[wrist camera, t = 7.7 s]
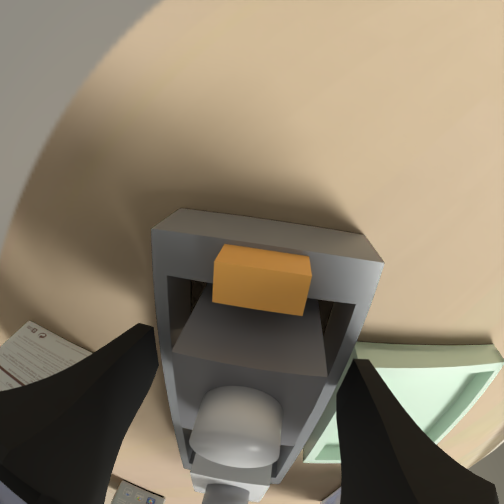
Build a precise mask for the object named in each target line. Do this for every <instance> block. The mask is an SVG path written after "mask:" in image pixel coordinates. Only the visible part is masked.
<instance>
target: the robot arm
mask: <svg viewBox="0 0 504 504" xmlns="http://www.w3.org/2000/svg"><path fill="white" fill-rule="evenodd" d="M158 366H159V363H158V357H157V350H156V343H155V335H154V327H152V326H148V325H144V324H141V323H138V324H137V325H135V326H133V327H132V328H130V329H129V330H127V331H126V332H125V333H123V334H122V335H120V336H119V337H117V338H116V339H114V340H113V341H111V342H110V343H108V344H107V345H105V346H104V347H102V348H101V349H99V350H98V351H96V352H94V353H93V354H91V355H89V356H88V357H86V358H84V359H83V360H81V361H79V362H77V363H76V364H74V365H72V366H70V367H68V368H66V369H64V370H62V371H60V372H58V373H56V374H54V375H52V376H49V377H47V378H44V379H41V380H39V381H36V382H33V383H30V384H27V385H24V386H21V387H17V388H13V389H9V390H4V391H0V504H104V502H105V496H106V492H107V488H108V484H109V480H110V477H111V473H112V470H113V467H114V464H115V461H116V458H117V455H118V452H119V449H120V447H121V444H122V441H123V439H124V436H125V434H126V432H127V430H128V428H129V426H130V424H131V422H132V421H133V419H134V417H135V415H136V413H137V411H138V409H139V408H140V406H141V404H142V402H143V400H144V398H145V397H146V395H147V393H148V391H149V389H150V387H151V384H152V382H153V379H154V377H155V374H156V371H157V369H158ZM336 421H337V430H338V439H339V448H340V458H341V471H342V480H341V487H340V488H339V489H337V490H336V491H335V492H334V493H332V494H331V495H330V496H328V497H327V498H326V499H324V500H323V501H322V502H320V504H499V501H498V496H497V492H496V488H495V485H494V484H492V483H491V482H489V481H487V480H485V479H483V478H481V477H479V476H477V475H475V474H473V473H472V472H471V471H469V470H468V469H466V468H465V467H463V466H462V465H460V464H459V463H458V462H456V461H455V460H454V459H452V458H451V457H450V456H449V455H448V454H446V453H445V452H444V451H443V450H442V449H441V448H439V447H438V446H437V445H436V444H435V443H434V442H433V441H432V440H431V439H430V438H429V437H428V436H427V435H426V434H425V433H424V432H423V431H422V430H421V428H420V427H419V426H418V425H417V424H416V423H415V421H414V420H413V419H412V418H411V417H410V415H409V414H408V413H407V412H406V410H405V409H404V408H403V407H402V405H401V404H400V403H399V401H398V400H397V399H396V397H395V396H394V394H393V393H392V392H391V390H390V389H389V387H388V386H387V385H386V383H385V382H384V380H383V379H382V377H381V376H380V375H379V373H378V372H377V370H376V369H375V367H374V366H373V365H372V363H371V362H370V360H369V359H354V358H353V360H352V363H351V365H350V367H349V369H348V371H347V373H346V375H345V377H344V379H343V382H342V384H341V386H340V388H339V390H338V392H337V393H336Z"/></svg>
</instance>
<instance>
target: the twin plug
mask: <svg viewBox="0 0 504 504" xmlns="http://www.w3.org/2000/svg"><path fill="white" fill-rule="evenodd" d="M271 471H272V464H270V465H267V466H263V467H257V468H238V467H231V466H226V465H222V464H218V463H215V462H213V461H210V460H208V459H206V458H204V457H202V456H200V455H199V454H197V453H196V454H195V458H194V461H193V464H192V468H191V471H190V474H191V479H192V483H193V487H194V491H196V492H200V493H205V494H204V498H203V502H202V504H248V501H252V502H260V500H261V499H262V497H263V496H264V494H265V493H266V491H267V490H268V488H269V487H270V480H271Z"/></svg>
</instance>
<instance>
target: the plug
mask: <svg viewBox="0 0 504 504" xmlns="http://www.w3.org/2000/svg"><path fill="white" fill-rule="evenodd" d="M212 296H213V283H207V285H206V287H205V289H204V291H203V292H202V294H201V296H200V298H199V300H198V302H197V304H196V306H195V307H194V309H193V311H192V313H191V315H190V317H189V319H188V321H187V323H186V324H185V326H184V328H183V330H182V332H181V334H180V336H179V338H178V340H177V342H176V344H175V346H174V347H173V349H172V351H171V353H172V362H173V372H174V380H175V388H176V396H177V403H178V410H179V416H180V423H181V427H183V428H187V429H191V430H192V433H191V436H190V439H189V444H190V446H191V448H192V449H193V450H194V451H195V452H196V453H197V454H199V455H200V456H202V457H204V458H206V459H208V460H210V461H213V462H215V463H218V464H222V465H226V466H231V467H238V468H257V467H263V466H267V465H270V464H272V463H274V462H275V461H277V460H278V458H279V454H280V445H286V446H294V444H295V442H296V441H297V439H298V437H299V435H300V433H301V431H302V429H303V427H304V425H305V423H306V422H307V420H308V418H309V416H310V414H311V412H312V410H313V407H314V405H315V403H316V401H317V399H318V397H319V395H320V393H321V391H322V388H323V386H324V384H325V382H326V380H327V377H328V376H327V367H326V358H325V349H324V341H323V333H322V326H321V319H320V311H319V305H318V299H311V298H307V300H306V304H305V308H304V312H303V316H299V315H291V314H284V313H277V312H270V311H263V310H257V309H251V308H244V307H238V306H232V305H226V304H221V303H215V302H212Z"/></svg>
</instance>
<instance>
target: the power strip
mask: <svg viewBox="0 0 504 504" xmlns="http://www.w3.org/2000/svg"><path fill="white" fill-rule="evenodd" d="M151 240H152V265H153V282H154V295H155V307H156V317H157V327H158V335H159V344H160V351H161V358H162V365H163V372H164V378H165V384H166V390H167V396H168V401H169V406H170V411H171V416H172V421H173V426H174V430H175V435H176V439H177V443H178V448H179V452H180V456H181V459H182V463H183V467H184V468H185V469H189V470H191V468H192V464H193V461H194V458H195V454H196V452H195V451H194V450H193V449H192V448H191V446H190V444H189V439H190V436H191V433H192V430H191V429H187V428H183V427H181V423H180V416H179V410H178V403H177V396H176V388H175V380H174V372H173V362H172V353H171V351H172V349H173V347H174V346H175V344H176V342H177V340H178V338H179V336H180V334H181V332H182V330H183V328H184V326H185V324H186V323H187V321H188V319H189V317H190V315H191V280H196V281H201V282H207V283H213V296H212V302H215V303H221V304H226V305H232V306H238V307H244V308H251V309H257V310H263V311H270V312H277V313H284V314H291V315H299V316H303V312H304V308H305V304H306V300H307V298H311V299H319V300H326V301H334V304H333V307H332V311H331V314H330V317H329V320H328V323H327V327H326V330H325V333H324V336H323V341H324V349H325V358H326V367H327V376H328V377H327V380H326V382H325V384H324V386H323V388H322V391H321V393H320V395H319V397H318V399H317V401H316V403H315V405H314V407H313V410H312V412H311V414H310V416H309V418H308V420H307V422H306V423H305V425H304V427H303V429H302V431H301V433H300V435H299V437H298V439H297V441H296V442H295V444H294V446H286V445H281V446H280V454H279V458H278V460H277V461H275V462H274V463H272V471H271V480H270V484H280V482H281V481H282V479H283V478H284V476H285V475H286V473H287V472H288V470H289V469H290V467H291V466H292V464H293V463H294V461H295V460H296V458H297V456H298V455H299V453H300V452H301V450H302V448H303V447H304V445H305V443H306V442H307V440H308V438H309V437H310V435H311V433H312V431H313V430H314V428H315V426H316V424H317V423H318V421H319V419H320V417H321V415H322V413H323V411H324V410H325V408H326V406H327V404H328V402H329V400H330V398H331V396H332V394H333V392H334V390H335V388H336V386H337V384H338V382H339V380H340V378H341V375H342V373H343V371H344V369H345V367H346V365H347V362H348V360H349V358H350V356H351V353H352V351H353V349H354V346H355V344H356V342H357V339H358V337H359V334H360V332H361V329H362V327H363V324H364V322H365V319H366V316H367V314H368V311H369V308H370V305H371V303H372V300H373V297H374V294H375V291H376V288H377V285H378V282H379V279H380V276H381V273H382V270H383V267H384V261H383V260H382V258H381V257H380V256H379V254H378V253H377V251H376V250H375V249H374V247H373V246H372V244H371V243H370V242H369V240H368V239H367V238H366V236H365V235H362V234H356V233H351V232H345V231H339V230H333V229H327V228H321V227H314V226H308V225H302V224H295V223H288V222H282V221H275V220H268V219H261V218H254V217H247V216H239V215H232V214H224V213H216V212H208V211H200V210H191V209H183V208H180V209H178V210H177V211H175V212H174V213H172V214H171V215H170V216H168V217H167V218H165V219H164V220H162V221H161V222H160V223H158V224H157V225H155V226H154V227H153V228H151Z"/></svg>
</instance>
